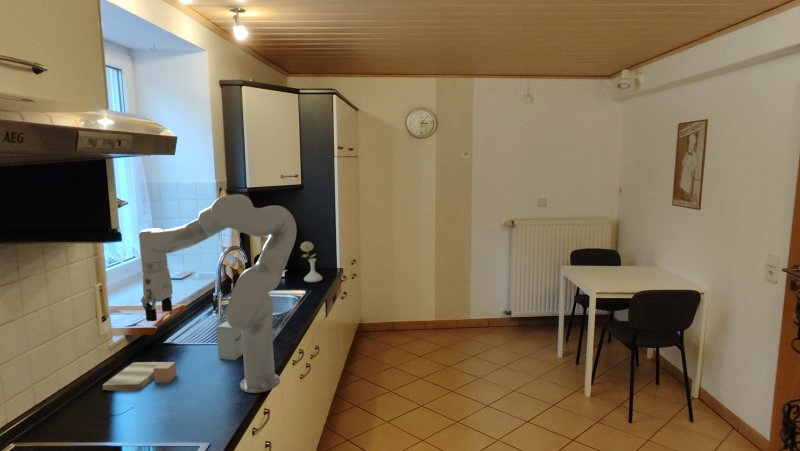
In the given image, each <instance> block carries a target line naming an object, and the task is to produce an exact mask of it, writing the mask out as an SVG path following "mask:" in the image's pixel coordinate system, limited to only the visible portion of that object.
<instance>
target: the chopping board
mask: <svg viewBox="0 0 800 451" xmlns="http://www.w3.org/2000/svg"><path fill="white" fill-rule="evenodd" d="M161 362H162V361H158V362H157V361H151V362H149V361H145V362H144V361H143V362H141V361H140V362H139V361H138V362H132V363H131V364H129V365H128V366H126V367H125V368H124V369H122V370H121V371H120V372H118V373H117V374H115V375H114V376H112V377H111V378H110V379H108V380H107V381H106V382H104V383H103V384H102V391H103V390H107V391H140V390H142V388H144V387H145V386H147V384H149V382H151V381H152V380H154V370H153V368H155V367H156V366H157V365H158V364H160V363H161Z"/></svg>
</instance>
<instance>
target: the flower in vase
mask: <svg viewBox="0 0 800 451" xmlns="http://www.w3.org/2000/svg"><path fill="white" fill-rule="evenodd" d="M313 249H314V244H313V243H312V242H310V241H304V242H301V244H300V250H301V251H302V252H306V253H304V254H303V255H301V258H308V259H307V261H309V262H308V263H310V271H309V273H307V275H305V276H304V278H303V280H304V282H307V283H317V282H320V281H322V280H323V276H322V275H321V274H320V273H318V272H317V271H316V268H315V265H316V261H317V258H313V257H315V256H316V255H317V253H314V254H312V255H311V256H310V255H309V252H310V251H312V250H313Z"/></svg>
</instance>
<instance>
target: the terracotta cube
mask: <svg viewBox="0 0 800 451" xmlns="http://www.w3.org/2000/svg"><path fill="white" fill-rule="evenodd" d="M160 362H161V363H160V364H158V365H157V366H156V367H155V368H153V370H154V378H153V380H154V383H170V382H171V381H172V380H174V378H176V377H177V365H176V361H167V362H166V361H160Z"/></svg>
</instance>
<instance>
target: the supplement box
mask: <svg viewBox="0 0 800 451" xmlns="http://www.w3.org/2000/svg"><path fill="white" fill-rule="evenodd" d="M215 330H216V340H217V355H218V356H217V357H218V359H219V360H229V361H231V360H232V361H233V360H234V361H236V360H237V359H238V358H240V357H241V356H243V347H242V330H236V329H234V328H232V327H231V326H230V325H229V324H228V322H227V320H226V321H224V322H223V323H221V324H219V325H217V326H216V329H215Z"/></svg>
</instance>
